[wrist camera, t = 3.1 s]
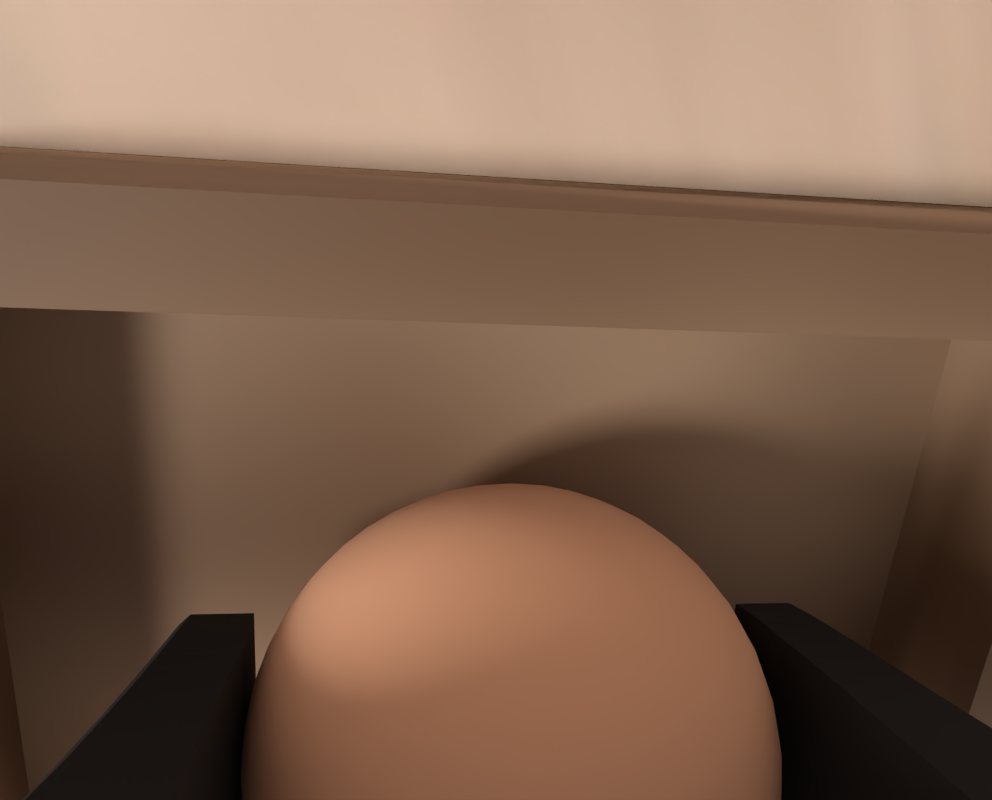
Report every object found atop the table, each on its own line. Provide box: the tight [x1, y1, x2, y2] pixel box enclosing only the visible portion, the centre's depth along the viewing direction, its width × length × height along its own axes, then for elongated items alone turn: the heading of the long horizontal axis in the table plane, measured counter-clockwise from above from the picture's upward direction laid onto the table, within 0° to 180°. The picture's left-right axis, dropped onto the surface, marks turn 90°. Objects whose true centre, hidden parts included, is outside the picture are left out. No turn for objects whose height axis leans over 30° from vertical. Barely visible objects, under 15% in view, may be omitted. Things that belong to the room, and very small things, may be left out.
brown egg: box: [241, 483, 782, 800], centre depth 8 cm, size 5×5×5 cm
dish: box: [0, 147, 992, 800], centre depth 10 cm, size 10×13×2 cm
